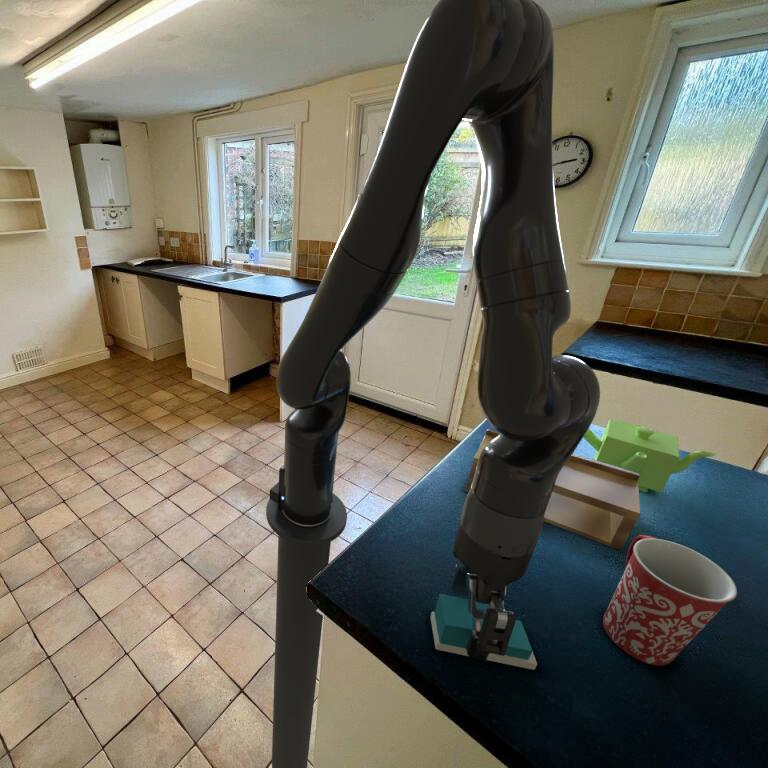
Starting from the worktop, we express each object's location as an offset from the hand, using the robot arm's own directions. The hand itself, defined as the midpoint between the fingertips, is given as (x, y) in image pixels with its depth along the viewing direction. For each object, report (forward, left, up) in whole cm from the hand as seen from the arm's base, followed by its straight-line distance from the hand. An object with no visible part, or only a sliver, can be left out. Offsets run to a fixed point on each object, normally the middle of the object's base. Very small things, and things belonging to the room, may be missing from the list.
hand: (467, 622), depth 53 cm
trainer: (+2, +1, -4) cm, 4 cm away
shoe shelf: (+5, +37, -4) cm, 38 cm away
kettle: (+18, +56, -4) cm, 59 cm away
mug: (+18, +16, -4) cm, 24 cm away
